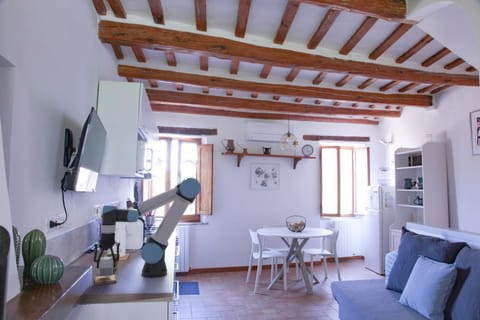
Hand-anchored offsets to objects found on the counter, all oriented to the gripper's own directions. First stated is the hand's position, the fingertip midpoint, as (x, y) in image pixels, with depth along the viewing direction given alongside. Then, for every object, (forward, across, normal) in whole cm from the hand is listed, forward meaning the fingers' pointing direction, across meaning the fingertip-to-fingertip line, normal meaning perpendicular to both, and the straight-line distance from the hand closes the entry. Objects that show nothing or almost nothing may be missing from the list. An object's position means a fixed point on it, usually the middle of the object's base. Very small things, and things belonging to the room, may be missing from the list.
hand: (105, 273), depth 182 cm
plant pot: (+4, -4, -24) cm, 25 cm away
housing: (0, 0, 0) cm, 0 cm away
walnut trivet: (+4, 0, 0) cm, 4 cm away
